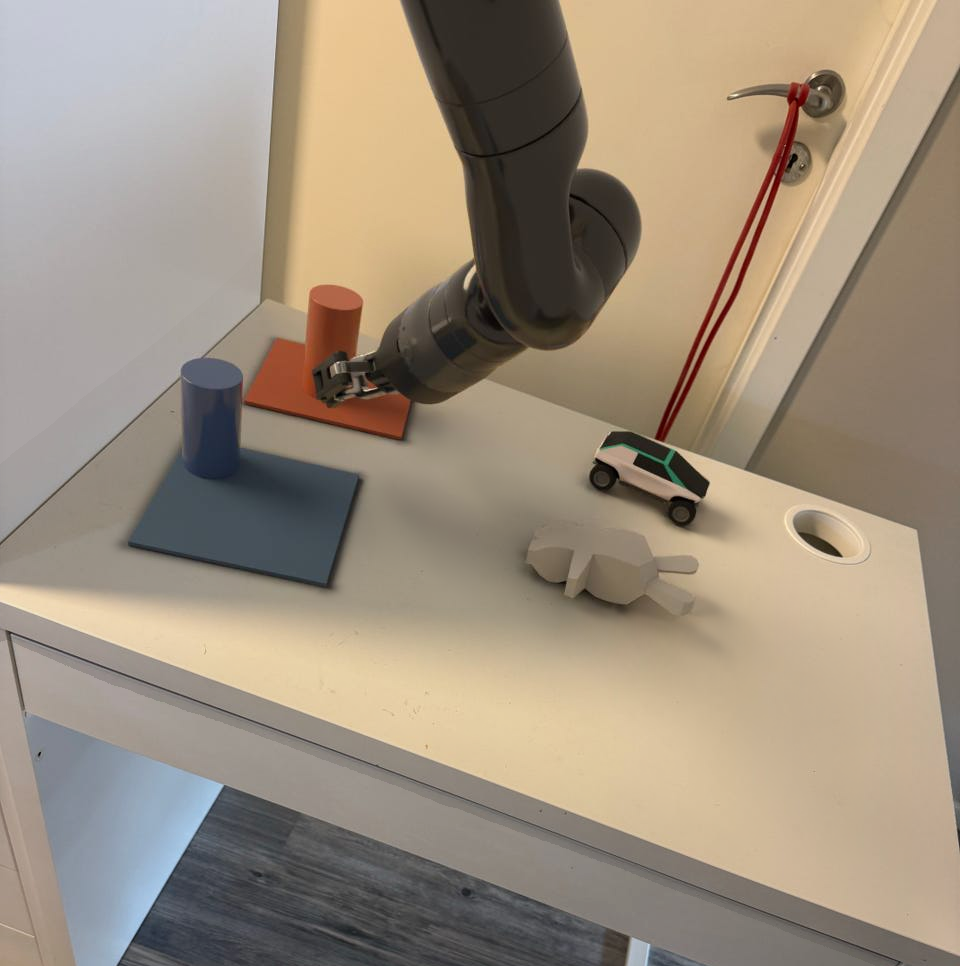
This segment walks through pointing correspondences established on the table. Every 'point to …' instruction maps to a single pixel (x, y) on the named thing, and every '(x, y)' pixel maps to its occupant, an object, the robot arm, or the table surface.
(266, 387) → the terracotta mat
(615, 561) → the bunny figurine
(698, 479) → the toy car
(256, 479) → the blue mat
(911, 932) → the table surface
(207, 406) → the blue canister
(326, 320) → the terracotta canister
